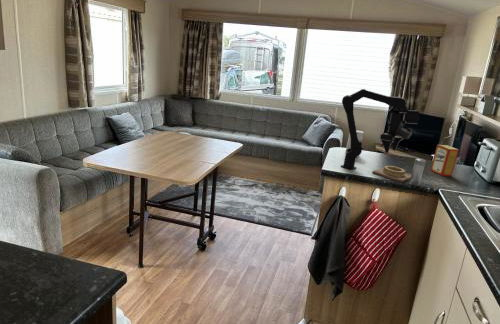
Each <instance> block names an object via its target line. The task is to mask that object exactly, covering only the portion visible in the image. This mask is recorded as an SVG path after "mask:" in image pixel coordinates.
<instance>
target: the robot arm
mask: <svg viewBox="0 0 500 324" xmlns="http://www.w3.org/2000/svg"><path fill="white" fill-rule="evenodd" d="M363 98H366V99H369V100H373V101H377V102H379V103H382V104H386V105H388V106H390V107H391V108H389V110H386V111H387V113H389V114H390V119H389V122H388V123H387V126H388V130H387V131H386V132H384V133H382V134H380V136H379V139H380V141H381V142H382V145H383V148H384V151H385V153H387V154H388V153H389V152H390V148H391V147H392V151H394V152H395V151H396V150H397V147H398V145H399V143H400V142H401V141H403V140H408V139H410V137H411V136H412V135H413V129H412V128H410V127H409V128H407V129H406V128H404V125H403V124H402V123H403V122H405V123H404V124H409V125H410V124H412V125H418V123H419V121H420V110H413V109H411V110H409V109H408V108H407V106H406V105H407V102H406V100H405V99H404V98H403V97H401V96H393V95H391V96H390V95H385V94H383V93H382V94H381V93H378V92H374V91H371V90H368V89H364V88H361V89H360V90H358V91H355V92H354V93H351V94H350V95H349V94H346V95H345V96H343V97H342V100H341V104H342V107H343V109H344V112H345V114H346V118H347V119H346V120H347V126H348V131H349V132H348V133H350V138H351V142H350V148H349V149H348V150H346V149H345V151H346V155H345V157H344V161H343V164H341V165H340V167H342V168H344V169H347V170H350V171H351V170H356V169H357V168H358V167H356V166H355V164H356V158H358V157H359V156H360V155H361V154H362V151H363V150H364V147H363V143H362V142H363V140H362V141H361V140H358V137H357V132H356V130H357V127H356V121H355V114H354V104H355V103H356V102H358V101H359V100H361V99H363ZM393 108H394V109H393ZM357 156H358V157H357Z"/></svg>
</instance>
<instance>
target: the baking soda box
mask: <svg viewBox="0 0 500 324" xmlns="http://www.w3.org/2000/svg"><path fill="white" fill-rule="evenodd" d="M459 151H460V150H459V149H458V148H455V147H453V146H450V145H447V144H436V148H435V151H434V155H433V159H432V163H431V166H430V171H431V172H433V173H435V174H437V175H439V176H442V177H452V176H453V171H454V168H455V165H456V163H457V162H456V161H457V158H458V155H459Z"/></svg>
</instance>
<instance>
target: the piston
mask: <svg viewBox="0 0 500 324" xmlns="http://www.w3.org/2000/svg"><path fill="white" fill-rule="evenodd" d="M426 162H427V160H426V159H424V158H423V159H422V158H415V160H414V165H413V168H412V172H411V175H412V176H411V179H409V185H411V186H414V187H420V183H421V181H422V177H423V174H424V173H423V172H424V169H425V166H426Z"/></svg>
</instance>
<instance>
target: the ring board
mask: <svg viewBox="0 0 500 324" xmlns="http://www.w3.org/2000/svg"><path fill="white" fill-rule="evenodd" d="M371 173H372V174H374V175H377V176H380V177H383V178H385V179H386V178H387V179H389V180H393V181H396V182H398V183H404V182H406V181H410V180H411V176H412V173H411V174H410V173H407V172H406V169H403V168H401V167H398V166H394V165H385V166H383V167H381V168H378V169H375V170H372V171H371Z"/></svg>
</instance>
